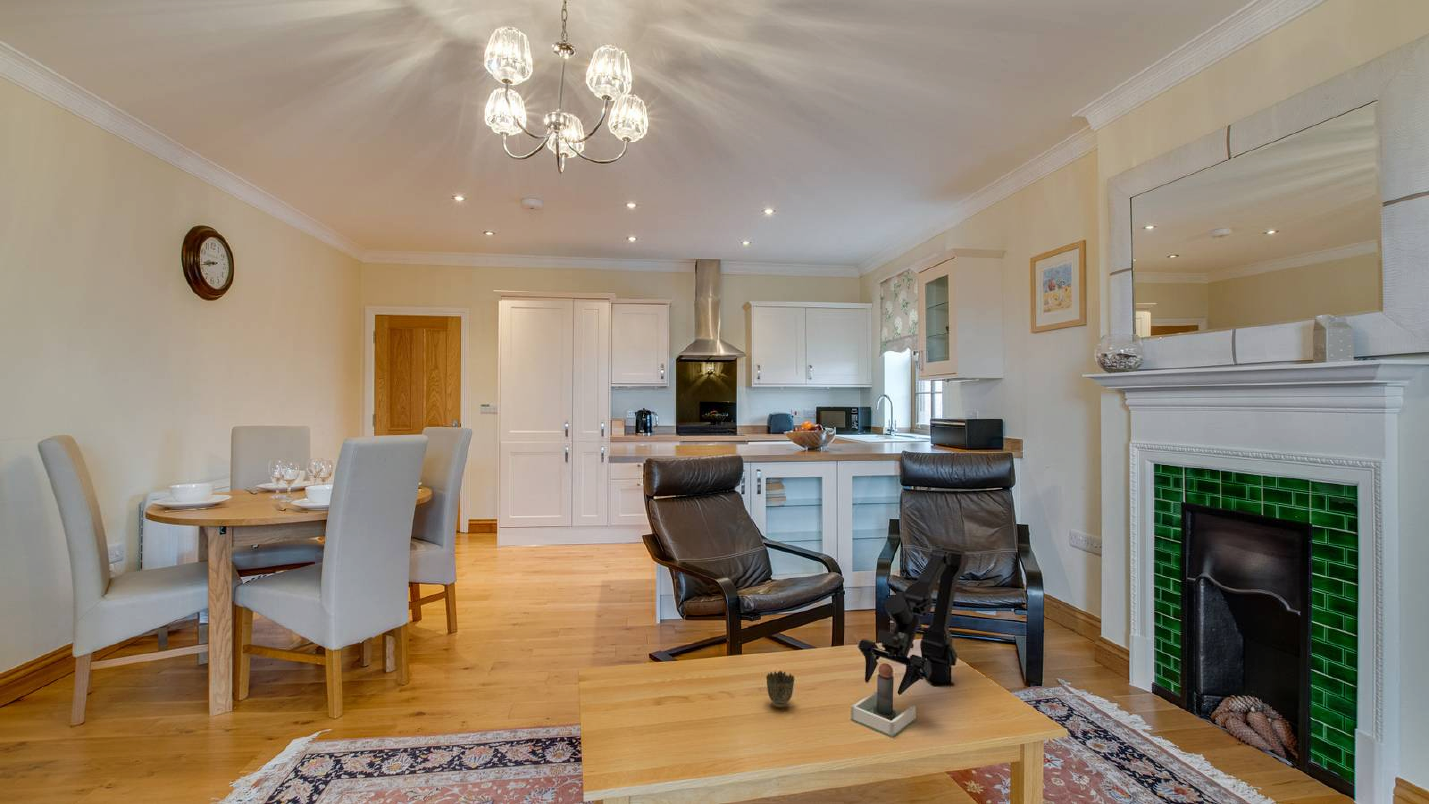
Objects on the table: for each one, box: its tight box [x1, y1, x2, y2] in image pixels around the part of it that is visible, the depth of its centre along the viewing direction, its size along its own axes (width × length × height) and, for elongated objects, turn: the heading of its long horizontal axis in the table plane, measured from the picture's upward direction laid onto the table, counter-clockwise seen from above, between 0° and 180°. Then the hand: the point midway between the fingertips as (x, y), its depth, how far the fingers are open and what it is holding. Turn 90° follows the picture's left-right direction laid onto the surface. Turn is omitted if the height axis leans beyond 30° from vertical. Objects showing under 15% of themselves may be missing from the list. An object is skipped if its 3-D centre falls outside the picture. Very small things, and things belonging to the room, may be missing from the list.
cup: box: [765, 670, 795, 710], centre depth 167 cm, size 8×7×8 cm
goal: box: [850, 691, 917, 738], centre depth 160 cm, size 12×12×4 cm
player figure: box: [873, 662, 896, 721], centre depth 161 cm, size 6×6×14 cm
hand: (882, 688), depth 160 cm, fingers open, 9 cm apart
